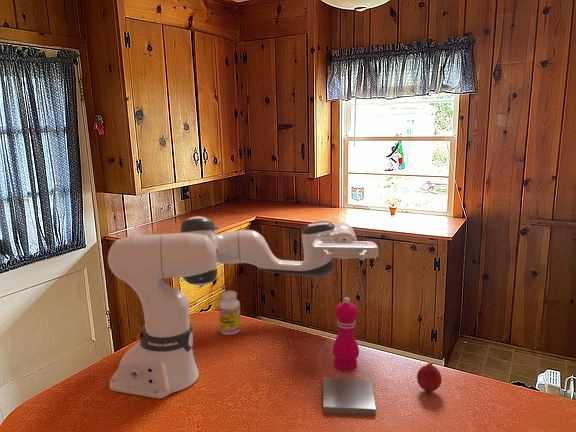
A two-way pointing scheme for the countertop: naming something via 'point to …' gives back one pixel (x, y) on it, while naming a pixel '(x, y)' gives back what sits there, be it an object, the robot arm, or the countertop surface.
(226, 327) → the supplement bottle
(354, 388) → the silver flat square block
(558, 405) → the countertop surface
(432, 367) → the onion
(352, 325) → the pepper mill
